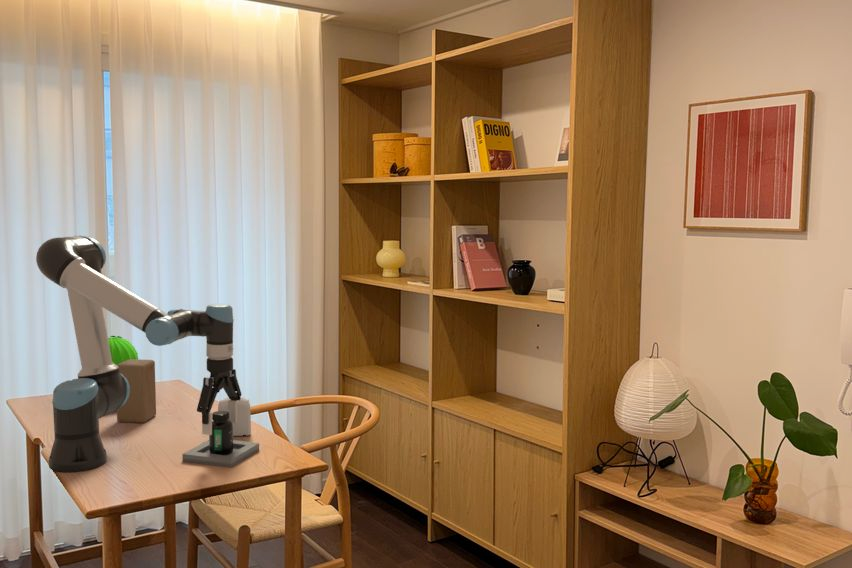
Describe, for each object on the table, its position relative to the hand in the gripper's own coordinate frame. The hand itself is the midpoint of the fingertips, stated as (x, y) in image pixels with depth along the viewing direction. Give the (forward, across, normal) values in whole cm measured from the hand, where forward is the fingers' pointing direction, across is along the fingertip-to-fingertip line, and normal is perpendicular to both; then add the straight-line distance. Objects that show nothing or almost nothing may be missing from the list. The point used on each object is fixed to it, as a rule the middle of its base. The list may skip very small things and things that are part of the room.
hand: (220, 427), depth 229 cm
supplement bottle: (+8, 0, 0) cm, 8 cm away
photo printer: (+9, +19, +6) cm, 22 cm away
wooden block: (+9, +24, +48) cm, 54 cm away
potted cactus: (+10, +41, +70) cm, 81 cm away
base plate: (+8, 0, 0) cm, 8 cm away
